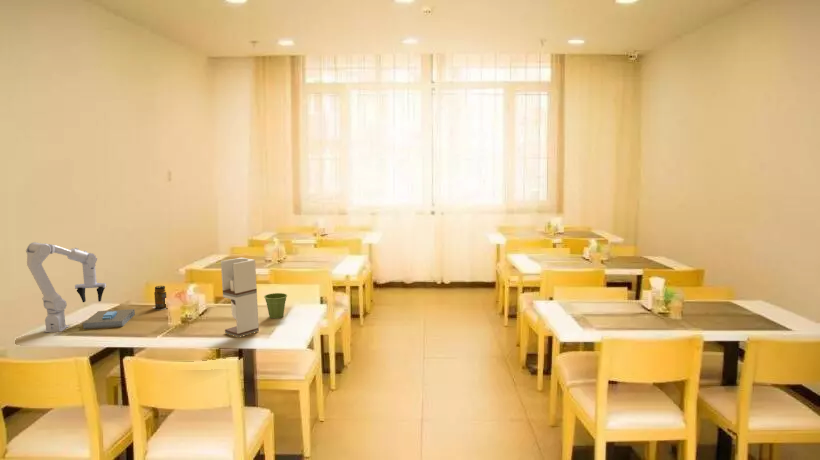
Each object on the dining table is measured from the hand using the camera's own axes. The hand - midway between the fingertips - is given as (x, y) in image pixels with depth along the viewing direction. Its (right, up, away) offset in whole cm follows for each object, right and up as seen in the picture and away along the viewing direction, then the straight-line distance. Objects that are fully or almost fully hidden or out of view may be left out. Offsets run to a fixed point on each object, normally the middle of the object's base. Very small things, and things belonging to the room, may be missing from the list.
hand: (92, 301), depth 311 cm
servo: (+11, -10, -3) cm, 15 cm away
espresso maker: (+85, -12, -25) cm, 89 cm away
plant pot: (+96, -8, +1) cm, 96 cm away
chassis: (+11, -10, -4) cm, 15 cm away
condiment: (+27, -6, +21) cm, 35 cm away
